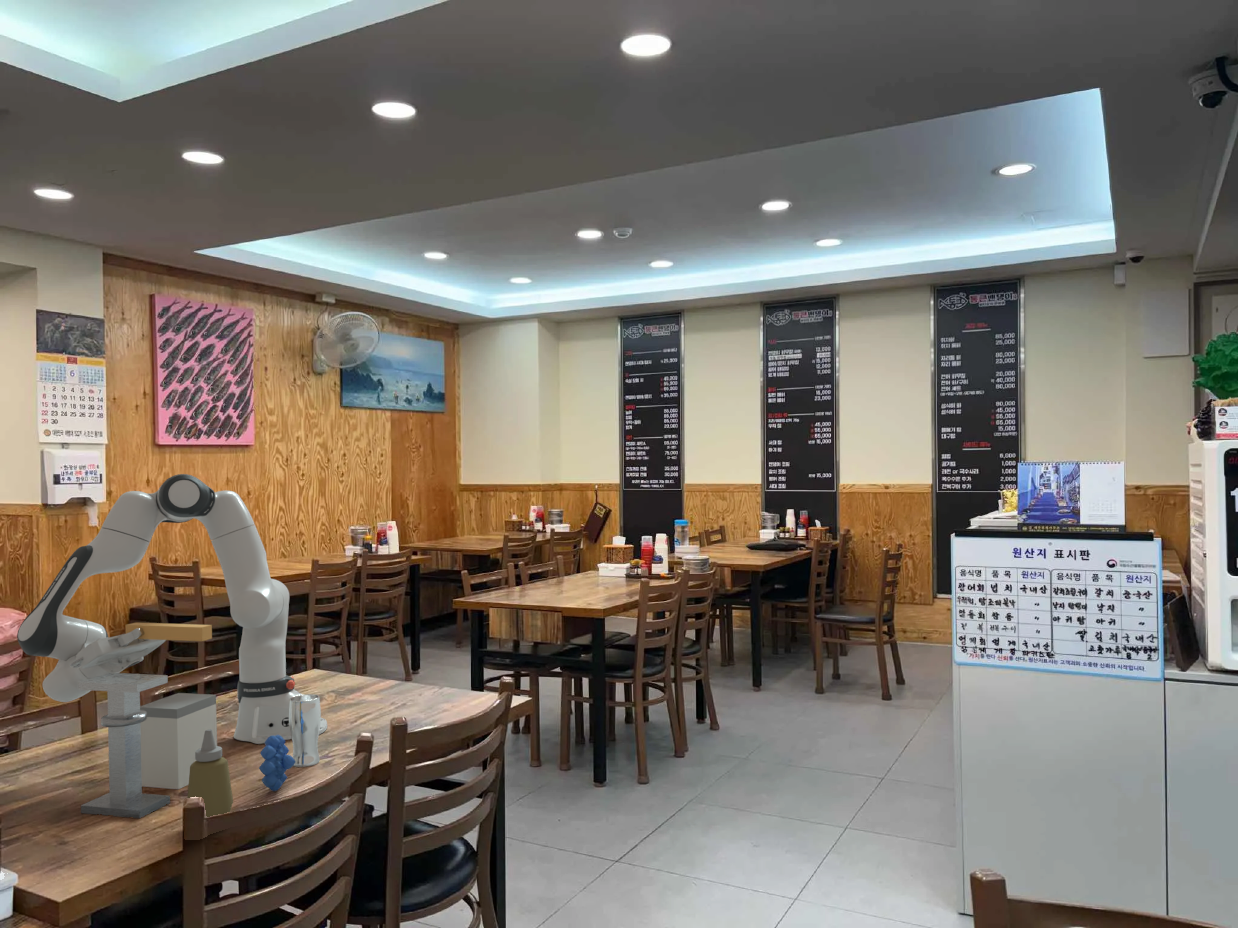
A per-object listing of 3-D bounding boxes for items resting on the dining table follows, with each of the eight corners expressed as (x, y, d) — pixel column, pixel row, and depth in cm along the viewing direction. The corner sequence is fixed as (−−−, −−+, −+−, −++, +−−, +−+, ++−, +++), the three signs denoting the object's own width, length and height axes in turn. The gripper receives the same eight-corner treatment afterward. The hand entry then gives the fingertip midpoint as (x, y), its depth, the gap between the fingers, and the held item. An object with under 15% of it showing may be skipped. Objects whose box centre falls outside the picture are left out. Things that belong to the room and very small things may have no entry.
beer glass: (311, 768, 199) (309, 701, 199) (283, 767, 200) (282, 700, 200) (327, 758, 206) (326, 694, 206) (300, 757, 207) (299, 693, 207)
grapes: (286, 800, 180) (285, 741, 180) (252, 801, 180) (251, 742, 180) (305, 780, 192) (303, 724, 192) (273, 781, 191) (272, 725, 191)
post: (81, 812, 176) (78, 681, 176) (113, 797, 183) (110, 672, 183) (139, 818, 172) (137, 684, 172) (170, 802, 180) (167, 675, 180)
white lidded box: (139, 785, 190) (137, 706, 190) (180, 767, 202) (178, 692, 202) (178, 789, 188) (177, 709, 188) (217, 770, 199) (216, 694, 199)
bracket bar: (125, 638, 196) (125, 624, 196) (136, 635, 199) (136, 622, 199) (202, 641, 191) (202, 627, 191) (211, 638, 194) (211, 624, 194)
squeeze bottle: (196, 817, 172) (194, 725, 172) (239, 815, 173) (237, 723, 173) (179, 834, 164) (177, 737, 164) (224, 832, 164) (222, 735, 165)
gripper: (59, 655, 190) (104, 624, 187) (133, 637, 210) (175, 609, 207) (71, 681, 189) (117, 651, 186) (145, 660, 209) (187, 633, 206)
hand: (148, 628), depth 197 cm, fingers closed on bracket bar, 3 cm apart
